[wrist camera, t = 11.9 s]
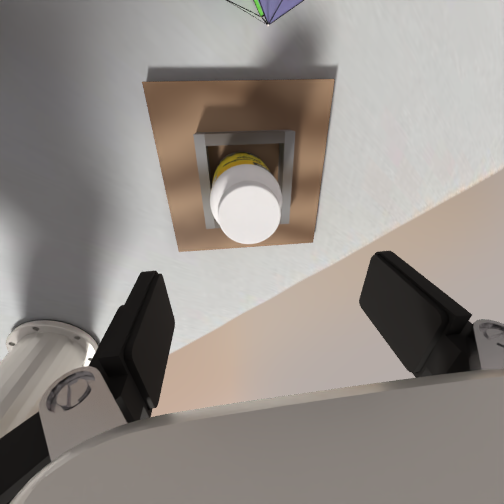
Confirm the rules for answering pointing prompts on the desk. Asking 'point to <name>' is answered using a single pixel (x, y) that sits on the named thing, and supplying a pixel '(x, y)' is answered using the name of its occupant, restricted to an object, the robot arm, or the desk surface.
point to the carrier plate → (240, 149)
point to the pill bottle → (245, 198)
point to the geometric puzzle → (273, 8)
